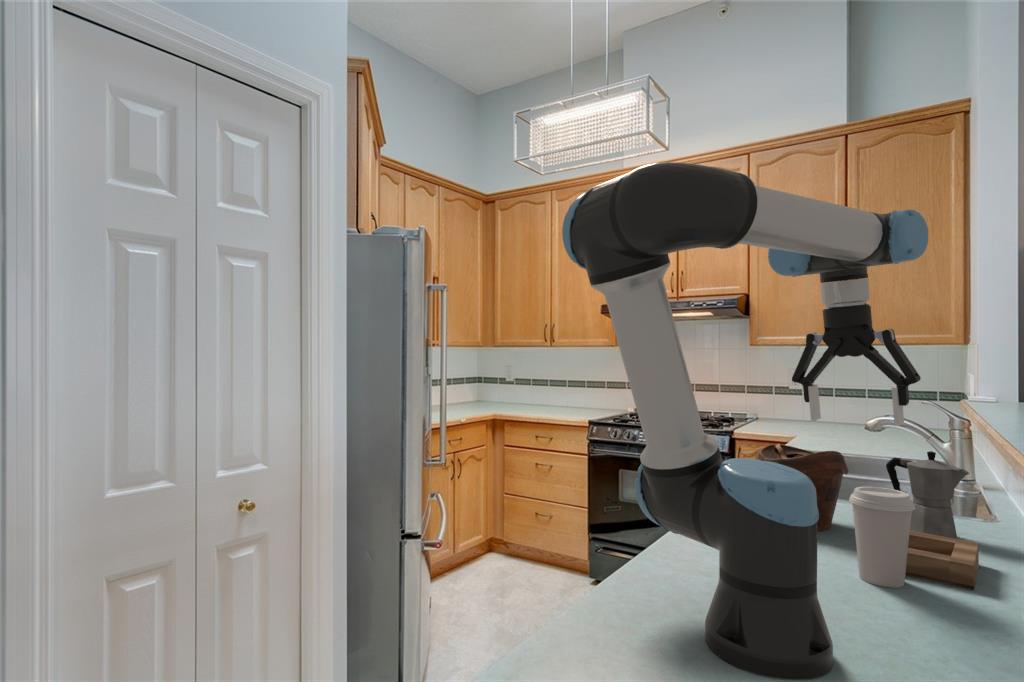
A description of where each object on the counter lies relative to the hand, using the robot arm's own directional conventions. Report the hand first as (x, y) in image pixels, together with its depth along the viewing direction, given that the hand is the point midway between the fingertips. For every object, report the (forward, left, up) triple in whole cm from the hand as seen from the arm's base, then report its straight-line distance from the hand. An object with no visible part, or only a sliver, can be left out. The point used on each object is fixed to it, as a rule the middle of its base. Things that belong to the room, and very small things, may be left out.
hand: (855, 421), depth 105 cm
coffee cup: (-5, -2, -27) cm, 27 cm away
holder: (+5, -12, -26) cm, 29 cm away
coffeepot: (+27, -22, -27) cm, 44 cm away
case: (+29, +3, -27) cm, 39 cm away
